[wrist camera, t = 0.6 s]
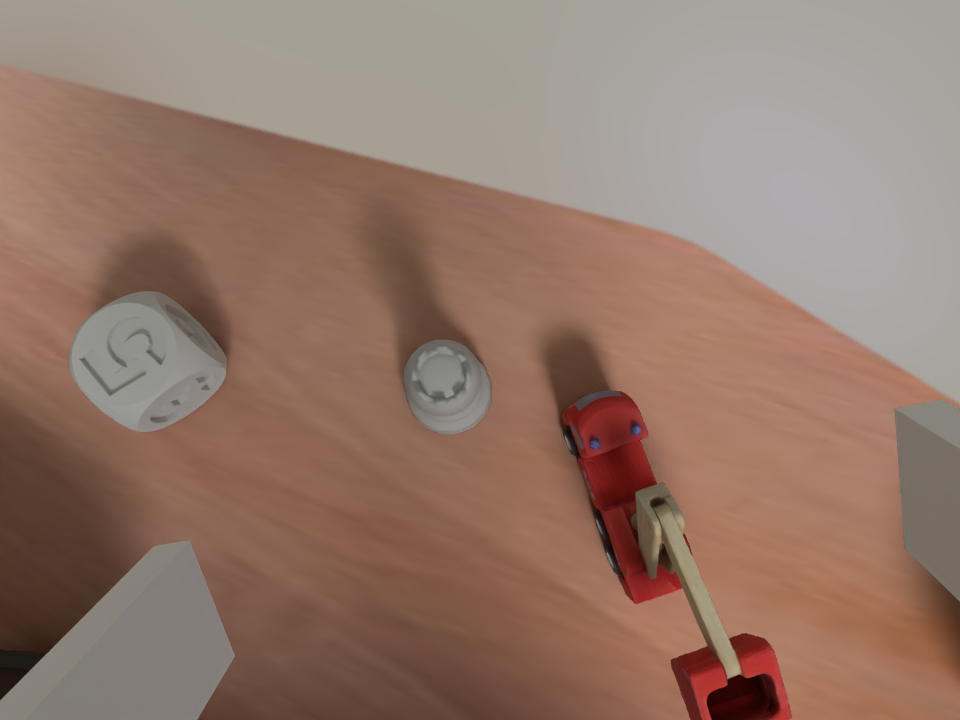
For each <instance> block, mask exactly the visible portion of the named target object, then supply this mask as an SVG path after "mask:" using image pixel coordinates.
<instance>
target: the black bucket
mask: <svg viewBox="0 0 960 720" xmlns="http://www.w3.org/2000/svg"><path fill="white" fill-rule="evenodd" d="M46 654H47V653H34V652H20V651H6V650H0V700H1V699H2V698H3V697H4V696H5V695H6V694H7V693H8V692H9V691H10V690H11V689H12V688H13V687H14V686H15V685H16V684H17V683H18V682H19V681H20V680H21V679H22V678H23V677H24V676H25V675H26V674H27V673H28V672H29V671H30V670H31V669H32V668H33V667H34V666H35V665H36V664H37V663H38V662H39V661H40V660H41V659H42V658H43V657H44V656H45V655H46Z"/></svg>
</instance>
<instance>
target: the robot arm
mask: <svg viewBox="0 0 960 720" xmlns="http://www.w3.org/2000/svg"><path fill="white" fill-rule="evenodd" d="M895 422H896V436H897V450H898V464H899V478H900V492H901V506H902V520H903V534H904V548H905V549H906V550H907V551H908V552H909V553H910V554H911V555H912V556H913V557H914V558H915V559H916V560H917V561H918V562H919V563H920V564H921V565H922V566H923V567H924V568H925V569H926V570H927V571H928V572H930V573H931V574H932V575H933V576H934V577H935V578H936V579H937V580H938V581H939V582H940V583H941V584H942V585H943V586H944V587H945V588H946V589H947V590H948V591H949V592H950V593H951V594H952V595H953V596H954V597H955V598H956V599H958V600H959V601H960V409H958V408H956V407H955V406H953V405H951V404H949V403H947V402H945V401H943V400H938V401H933V402H927V403H922V404H917V405H911V406H906V407H901V408H895ZM234 657H235V655H234V652H233V649H232V647H231V644H230V642H229V639H228V637H227V634H226V632H225V629H224V627H223V624H222V621H221V619H220V616H219V614H218V611H217V609H216V606H215V604H214V601H213V598H212V596H211V593H210V591H209V588H208V586H207V583H206V581H205V578H204V575H203V573H202V570H201V568H200V565H199V563H198V560H197V558H196V555H195V553H194V550H193V547H192V545H191V542H190V540H185V541H180V542H174V543H169V544H164V545H158V546H154V547H153V548H152V549H151V550H150V551H149V552H148V553H147V554H146V555H145V556H144V557H143V558H142V559H141V560H140V561H139V562H138V563H137V564H136V565H135V566H134V567H133V568H132V569H131V570H130V571H129V572H128V573H127V574H126V575H125V576H124V577H123V578H122V579H121V580H120V581H119V582H118V583H117V584H116V585H115V586H114V587H113V588H112V589H111V590H110V591H109V592H108V593H107V594H106V595H105V596H104V597H103V598H102V599H101V600H100V601H99V602H98V603H97V604H96V605H95V606H94V607H93V608H92V609H91V610H90V611H89V612H88V613H87V614H86V615H85V616H84V617H83V618H82V619H81V620H80V621H79V622H78V623H77V624H76V625H75V626H74V627H73V628H72V629H71V630H70V631H69V632H68V633H67V634H66V635H65V636H64V637H63V638H62V639H61V640H60V641H59V642H58V643H57V644H56V645H55V646H54V647H53V648H52V649H51V650H50V651H49V652H48V653H47V654H46V655H45V656H44V657H43V658H42V659H41V660H40V661H39V662H38V663H37V664H36V665H35V666H34V667H33V668H32V669H31V670H30V671H29V672H28V673H27V674H26V675H25V676H24V677H23V678H22V679H21V680H20V681H19V682H18V683H17V684H16V685H15V686H14V687H13V688H12V689H11V690H10V691H9V692H8V693H7V694H6V695H5V696H4V697H3V698H2V699H1V700H0V720H197V719H198V718H199V716H200V714H201V713H202V711H203V709H204V708H205V706H206V704H207V703H208V701H209V699H210V698H211V696H212V694H213V693H214V691H215V689H216V688H217V686H218V684H219V683H220V681H221V679H222V678H223V676H224V674H225V673H226V671H227V669H228V667H229V666H230V664H231V662H232V661H233V659H234Z"/></svg>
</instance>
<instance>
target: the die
mask: <svg viewBox="0 0 960 720" xmlns="http://www.w3.org/2000/svg"><path fill="white" fill-rule="evenodd" d="M69 369H70V373H71V375H72V377H73V379H74V381H75V382H76V384H77V385H78V387H79V388H80V389H81V391H82V392H83V393H84V394H85V395H86V396H87V398H88V399H89V400H90V401H91V402H92V403H93V404H94V405H96V406H97V407H98V408H99V409H100V410H101V411H102V412H104V413H105V414H106V415H107V416H109V417H110V418H112V419H113V420H115V421H116V422H118V423H119V424H121V425H123V426H125V427H127V428H129V429H132V430H135V431H139V432H152V431H156V430H159V429H162V428H165V427H167V426H169V425H171V424H173V423H175V422H177V421H179V420H181V419H182V418H184V417H186V416H187V415H189V414H190V413H192V412H193V411H195V410H196V409H197V408H199V407H200V406H201V405H202V404H204V403H205V402H206V401H207V400H208V399H209V398H210V397H211V396H212V395H213V394H214V393H215V392H216V391H217V390H218V389H219V387H220V386H221V385H222V383H223V381H224V379H225V377H226V371H227V358H226V356H225V354H224V352H223V351H222V349H221V348H220V346H219V345H218V344H217V342H216V341H215V340H214V339H213V337H212V336H211V335H210V334H209V333H208V332H207V331H206V329H205V328H204V327H203V326H202V325H201V324H200V323H199V322H198V321H197V320H196V319H195V318H194V317H193V316H192V315H191V314H189V313H188V312H187V311H186V310H185V309H184V308H183V307H181V306H180V305H179V304H178V303H177V302H175V301H174V300H173V299H171V298H170V297H168V296H167V295H165V294H163V293H161V292H157V291H142V292H136V293H132V294H129V295H126V296H123V297H121V298H118V299H116V300H114V301H112V302H110V303H108V304H107V305H105V306H103V307H102V308H100V309H99V310H98V311H96V312H95V313H94V314H92V315H91V316H90V317H89V318H88V319H87V320H86V321H85V322H84V323H83V324H82V325H81V326H80V328H79V329H78V330H77V332H76V334H75V336H74V338H73V341H72V344H71V348H70V354H69Z"/></svg>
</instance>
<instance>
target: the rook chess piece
mask: <svg viewBox="0 0 960 720" xmlns="http://www.w3.org/2000/svg"><path fill="white" fill-rule="evenodd" d="M404 387H405V389H406V392H407V396H406V398H407V401H408V404H409V406H410V409H411V411H412V414H413V416H414V417H415V418H416V419H417V420H418V421H419V422H420V423H421V424H422V425H423V426H424V427H425V428H428V429H430V430H432V431H435V432H437V433H439V434H459V433H461V432H464V431H466V430H469V429H471V428H473V427H474V426H475V425H476V424H477V423H478V422H479V421H480V420H481V419H482V418H483V417H484V416H485V415H486V413H487V410H488V408H489V405H490V403H491V401H492V383H491V380H490V378H489V375H488V373H487V371H486V368H485V367H484V366H483V365H482V364H481V363H480V362H479V361H478V360H477V359H476V356H475V355H474V354H473V353H472V352H471V351H470V350H469V349H468V348H467V347H466V346H465V345H463V344H460V343H458V342H455V341H453V340H451V339H435V340H433V341H430V342H428V343H425V344H423V345H421V346H420V347H419V348H418V349H417V350H416V351H415V352H414V353H413V354H412V355H410V357H409V360H408V362H407V364H406V367H405V369H404Z"/></svg>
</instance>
